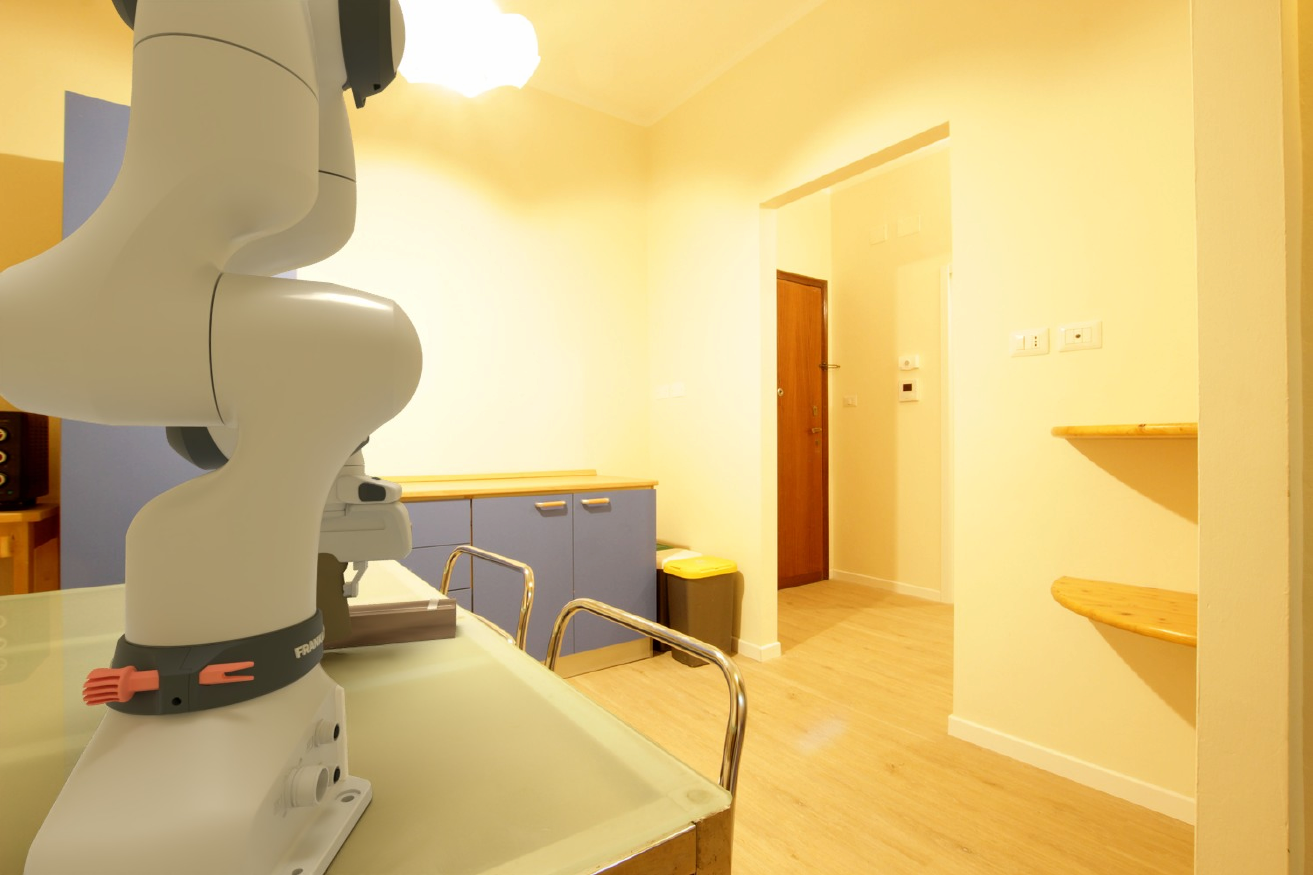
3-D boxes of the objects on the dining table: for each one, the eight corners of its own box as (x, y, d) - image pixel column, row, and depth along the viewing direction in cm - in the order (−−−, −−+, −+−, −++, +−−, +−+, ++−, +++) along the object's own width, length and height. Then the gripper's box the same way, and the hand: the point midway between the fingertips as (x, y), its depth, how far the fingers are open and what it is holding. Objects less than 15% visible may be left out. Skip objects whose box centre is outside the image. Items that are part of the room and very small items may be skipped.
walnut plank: (454, 637, 84) (454, 607, 84) (292, 651, 78) (292, 619, 79) (456, 625, 90) (456, 596, 90) (305, 637, 84) (305, 607, 84)
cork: (310, 647, 72) (310, 554, 72) (288, 637, 75) (289, 549, 76) (361, 634, 77) (361, 547, 77) (338, 625, 80) (338, 542, 80)
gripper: (219, 492, 70) (218, 611, 70) (408, 488, 76) (408, 598, 76) (240, 488, 76) (239, 598, 76) (413, 485, 82) (413, 587, 82)
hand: (325, 598), depth 76 cm, fingers closed on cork, 4 cm apart
